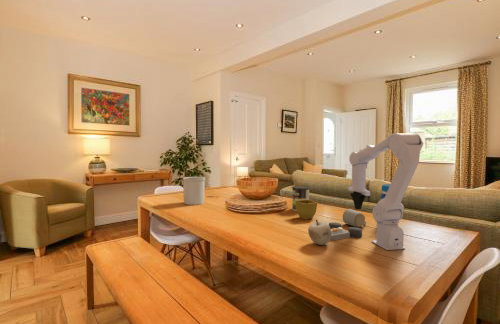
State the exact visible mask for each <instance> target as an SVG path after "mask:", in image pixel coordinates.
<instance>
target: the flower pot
mask: <svg viewBox="0 0 500 324" xmlns="http://www.w3.org/2000/svg"><path fill="white" fill-rule="evenodd" d="M295 202H296V210H297V211H296V212H297V215H298V217H299V218H301V219H303V220H308V219H311V220H312V219H313V218H314V217H315V215H316V212H317V208H318V202H316V201H314V200H311V199H309V200H298V201H295Z"/></svg>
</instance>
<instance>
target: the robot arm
mask: <svg viewBox="0 0 500 324" xmlns="http://www.w3.org/2000/svg"><path fill="white" fill-rule="evenodd" d="M423 146H424V142H423V139H422V137H421V135H420V134H418V133H414V132H413V133H402V132H401V133H399V132H394V133H391V134H389V135H387V136H386V138H384V139H383V140H381V141H380V142H378V143H377V144H375V145H372V144H367V145H366V147H365V148H363V149H359V151H357V152H356V151H352V152H351V153H350V155H349V158H348V159H349V163H350V164H351V186H347V192H348V191H349V192H350V196H351V198H352V202H353V204H354V209H355V210H362V207H363V203H364V201H365V199H366V198H367V197H369V196H371V191H370V190H368V189H366V178H367V175H366V174H367V170H366V169H367V168H368V164H369V162H370V161H373V160H374V159H377V158H379V155H380V153H383V152H386V151H388V150H390V151H391V153H393V155H394V156H395V158H396V159H398V161H399V163H398V165H397V167H396V170H395V172H394V174H393V177H392V178H391V182H390V186H389V189H388V191H387V194H386V196H385V198H383V199H382V200H380V199H379V201H378V202H377V204H376V205H375V206H373V208H372V214H371V215H372V217H373V220H374V221H375V223H376V239H374V240H371V243H373V244H375V245H377V246H378V247H380V248H382V249H384V250H386V251H391V250H392V251H393V250H395V251H396V250H405V249H406V247H405V246H404V237H405V236H404V235H405V233H404V229H403V228H401V226H399V223H400V220H402V218H403V216H404V213H403V212H404V209H405V206H404V204H403V203H402V201H403V198H404V196H405V194H406V192H407V189H408V188H409V185H410V183H411V181H412V179H413V176H414V174H415V172H416V170H417V167H418V165H419V163H420V154H421V150H422V148H423ZM397 223H398V224H397Z"/></svg>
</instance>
